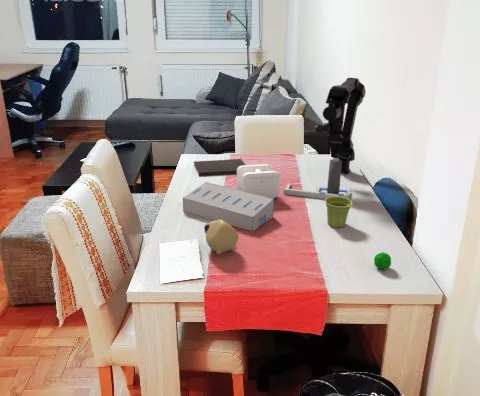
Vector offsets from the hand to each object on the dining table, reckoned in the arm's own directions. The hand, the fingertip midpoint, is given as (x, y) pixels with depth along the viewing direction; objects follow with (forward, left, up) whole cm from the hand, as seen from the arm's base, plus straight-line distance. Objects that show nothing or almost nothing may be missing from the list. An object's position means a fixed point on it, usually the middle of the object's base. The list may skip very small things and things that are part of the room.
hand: (332, 154), depth 210 cm
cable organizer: (+24, -26, -13) cm, 38 cm away
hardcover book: (-3, -50, -14) cm, 52 cm away
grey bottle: (+12, +3, -13) cm, 18 cm away
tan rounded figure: (+72, -26, -13) cm, 78 cm away
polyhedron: (+68, +23, -13) cm, 73 cm away
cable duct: (+13, -4, -13) cm, 19 cm away
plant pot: (+41, +7, -13) cm, 43 cm away
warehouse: (+44, -32, -14) cm, 57 cm away
